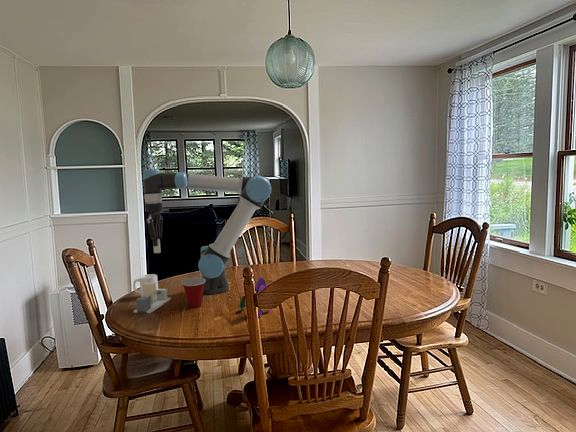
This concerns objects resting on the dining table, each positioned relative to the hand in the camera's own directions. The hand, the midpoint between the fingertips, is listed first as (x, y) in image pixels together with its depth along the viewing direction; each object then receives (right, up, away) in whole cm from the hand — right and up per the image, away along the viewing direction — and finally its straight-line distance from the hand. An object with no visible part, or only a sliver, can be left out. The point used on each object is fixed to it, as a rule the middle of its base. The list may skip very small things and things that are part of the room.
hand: (157, 252), depth 204 cm
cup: (-9, -23, +11) cm, 27 cm away
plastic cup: (+19, -24, -7) cm, 31 cm away
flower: (+46, -24, -18) cm, 55 cm away
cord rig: (-1, -24, -4) cm, 24 cm away
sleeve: (-1, -22, -6) cm, 23 cm away
